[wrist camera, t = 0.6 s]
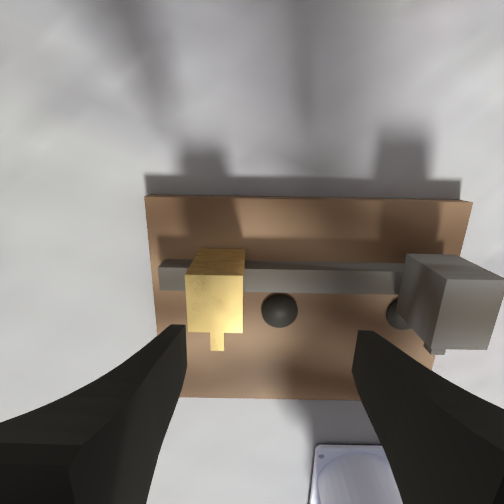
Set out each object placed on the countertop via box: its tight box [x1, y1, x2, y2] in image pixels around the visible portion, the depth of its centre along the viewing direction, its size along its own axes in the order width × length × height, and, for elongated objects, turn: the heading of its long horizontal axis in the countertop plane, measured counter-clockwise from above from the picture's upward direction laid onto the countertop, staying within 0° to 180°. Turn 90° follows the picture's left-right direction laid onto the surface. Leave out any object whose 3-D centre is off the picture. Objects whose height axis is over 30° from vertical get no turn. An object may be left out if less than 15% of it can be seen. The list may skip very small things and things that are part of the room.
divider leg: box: [185, 248, 245, 351], centre depth 18 cm, size 5×3×5 cm, turn 179°
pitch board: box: [144, 194, 504, 400], centre depth 19 cm, size 16×21×7 cm
